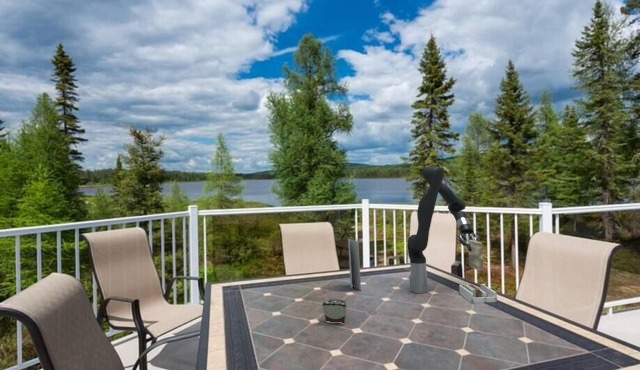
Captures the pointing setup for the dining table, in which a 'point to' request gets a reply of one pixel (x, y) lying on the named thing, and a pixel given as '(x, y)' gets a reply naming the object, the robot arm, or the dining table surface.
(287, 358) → the dining table surface
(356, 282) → the dark grey tall slab
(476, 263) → the grey green board
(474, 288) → the grey green block
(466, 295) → the rack
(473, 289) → the sage offcut board
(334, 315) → the food container
